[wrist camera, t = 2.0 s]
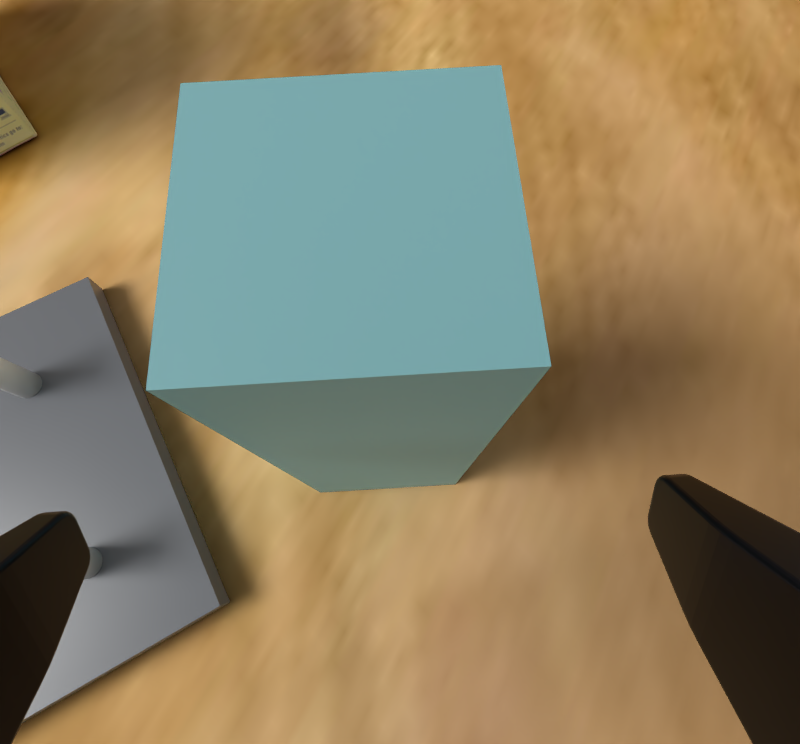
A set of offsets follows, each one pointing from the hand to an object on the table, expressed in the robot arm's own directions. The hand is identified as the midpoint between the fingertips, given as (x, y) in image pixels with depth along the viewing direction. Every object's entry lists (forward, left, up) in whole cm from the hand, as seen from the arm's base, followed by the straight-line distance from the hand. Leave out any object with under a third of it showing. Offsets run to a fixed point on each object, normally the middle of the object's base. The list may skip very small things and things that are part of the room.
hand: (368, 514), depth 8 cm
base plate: (-4, +14, -11) cm, 19 cm away
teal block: (+4, +1, -11) cm, 11 cm away
